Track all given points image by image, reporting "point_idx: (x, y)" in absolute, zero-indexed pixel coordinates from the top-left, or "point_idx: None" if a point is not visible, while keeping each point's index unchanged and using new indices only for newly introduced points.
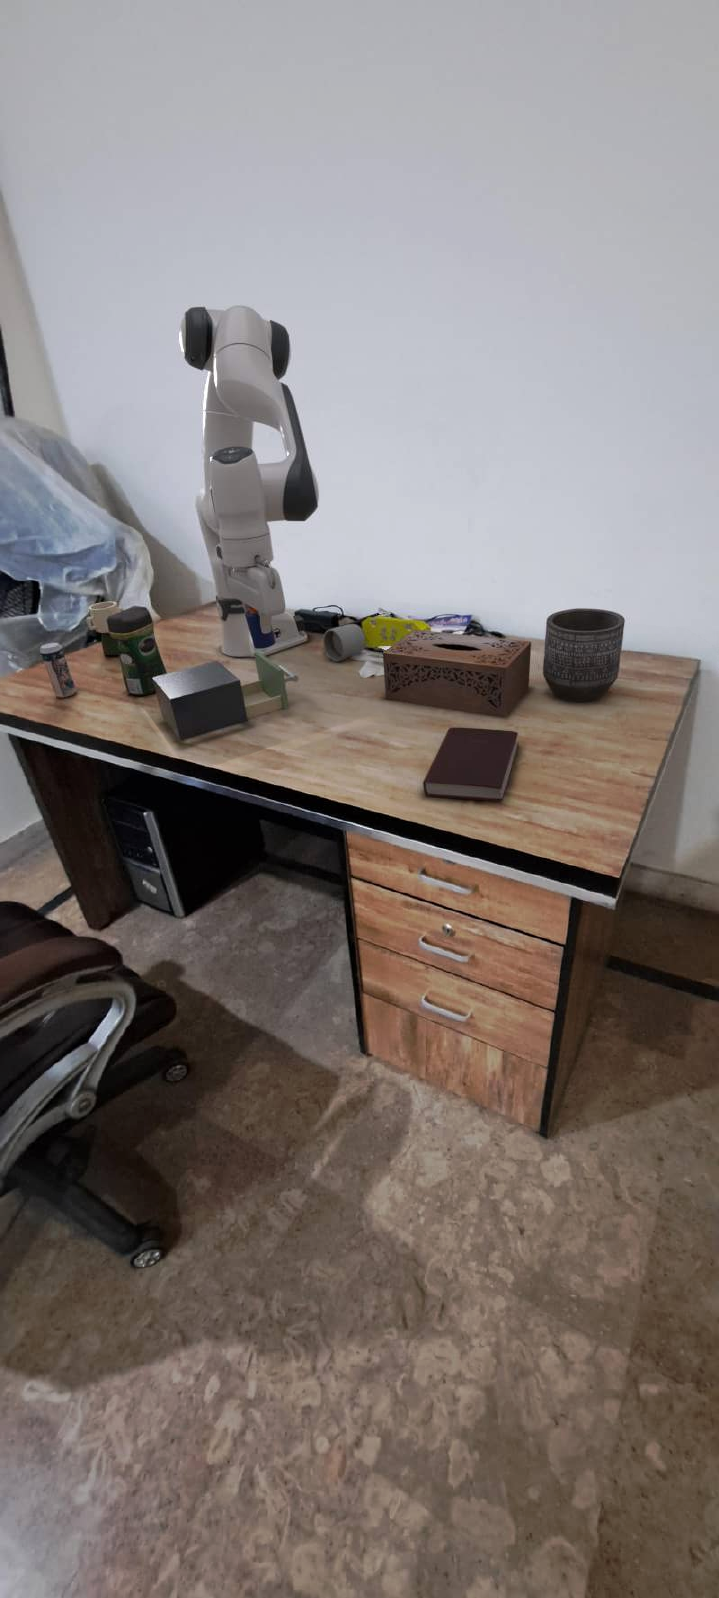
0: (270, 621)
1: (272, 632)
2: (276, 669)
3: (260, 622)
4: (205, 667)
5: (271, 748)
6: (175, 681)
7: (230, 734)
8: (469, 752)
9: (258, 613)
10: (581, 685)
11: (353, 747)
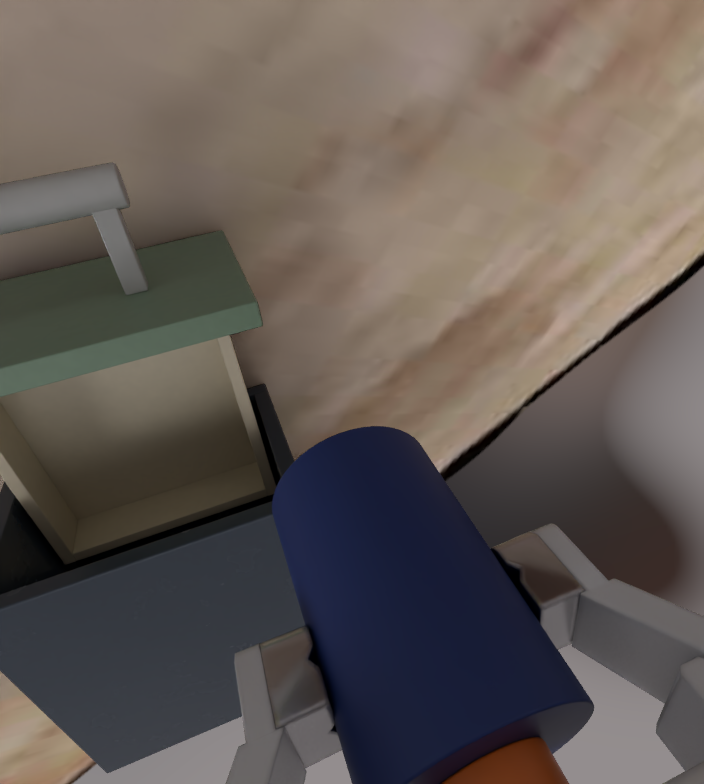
0: (629, 586)
1: (438, 491)
2: (224, 334)
3: (601, 651)
4: (58, 649)
5: (439, 328)
6: (192, 700)
7: (288, 435)
8: None
9: (672, 741)
10: None
11: (593, 64)
